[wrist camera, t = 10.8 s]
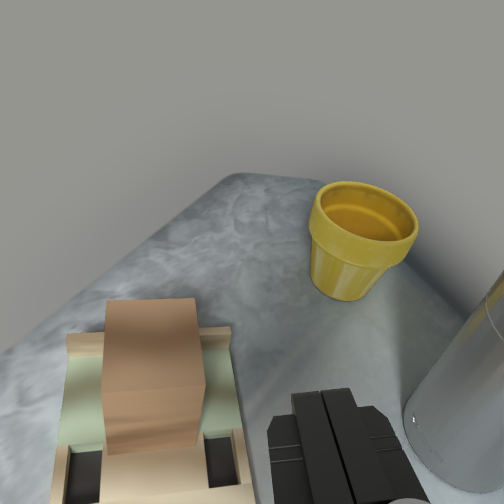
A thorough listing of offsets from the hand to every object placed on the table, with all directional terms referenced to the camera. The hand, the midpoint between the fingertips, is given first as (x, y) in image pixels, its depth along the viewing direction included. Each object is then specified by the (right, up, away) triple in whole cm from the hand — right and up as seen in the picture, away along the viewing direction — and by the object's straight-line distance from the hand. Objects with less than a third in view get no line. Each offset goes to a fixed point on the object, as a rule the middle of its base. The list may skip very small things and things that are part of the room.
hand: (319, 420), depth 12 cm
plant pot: (+8, +1, +39) cm, 39 cm away
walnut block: (-9, -7, +22) cm, 25 cm away
